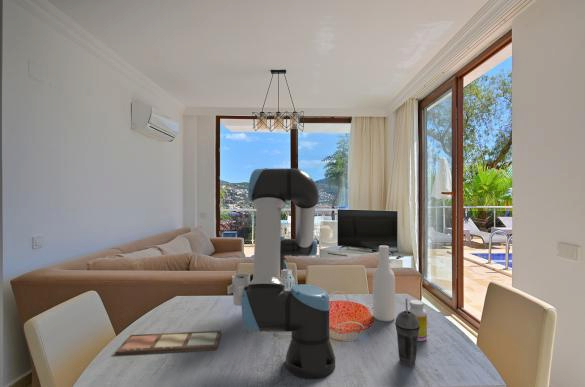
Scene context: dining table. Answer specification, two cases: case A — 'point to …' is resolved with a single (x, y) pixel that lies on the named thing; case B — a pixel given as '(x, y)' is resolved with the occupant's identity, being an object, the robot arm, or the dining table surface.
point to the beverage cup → (407, 336)
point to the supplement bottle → (419, 318)
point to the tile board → (170, 342)
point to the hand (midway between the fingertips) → (233, 290)
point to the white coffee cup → (237, 282)
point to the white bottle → (383, 288)
